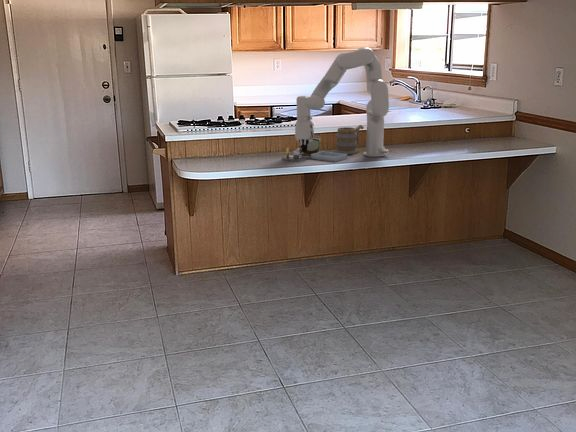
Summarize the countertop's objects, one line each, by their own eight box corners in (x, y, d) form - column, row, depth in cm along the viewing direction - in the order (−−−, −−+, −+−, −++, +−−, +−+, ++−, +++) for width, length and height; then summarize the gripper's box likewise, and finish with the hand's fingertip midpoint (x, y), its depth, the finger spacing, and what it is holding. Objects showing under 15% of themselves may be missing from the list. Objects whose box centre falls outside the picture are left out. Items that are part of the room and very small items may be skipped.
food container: (324, 154, 349) (324, 136, 346) (319, 155, 344) (319, 138, 341) (306, 152, 355) (306, 135, 352) (300, 153, 350) (300, 136, 347)
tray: (347, 158, 334) (347, 154, 333) (335, 161, 325) (335, 157, 325) (322, 155, 344) (322, 151, 343) (310, 158, 335) (310, 154, 334)
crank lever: (299, 157, 332) (299, 149, 330) (292, 157, 333) (292, 148, 331) (305, 153, 343) (304, 145, 342) (298, 153, 344) (298, 145, 343)
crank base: (311, 158, 335) (311, 147, 334) (299, 161, 326) (298, 150, 325) (293, 156, 343) (293, 145, 341) (280, 159, 334) (280, 148, 332)
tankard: (345, 155, 345) (345, 128, 341) (331, 152, 355) (331, 126, 351) (370, 151, 356) (371, 125, 352) (356, 148, 366) (356, 123, 362)
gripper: (318, 118, 332) (319, 151, 337) (296, 117, 341) (297, 149, 346) (311, 120, 326) (311, 153, 332) (288, 119, 335) (289, 151, 340)
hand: (304, 151), depth 339 cm, fingers closed
